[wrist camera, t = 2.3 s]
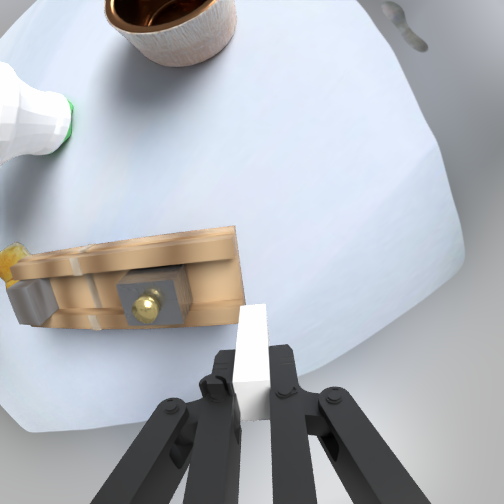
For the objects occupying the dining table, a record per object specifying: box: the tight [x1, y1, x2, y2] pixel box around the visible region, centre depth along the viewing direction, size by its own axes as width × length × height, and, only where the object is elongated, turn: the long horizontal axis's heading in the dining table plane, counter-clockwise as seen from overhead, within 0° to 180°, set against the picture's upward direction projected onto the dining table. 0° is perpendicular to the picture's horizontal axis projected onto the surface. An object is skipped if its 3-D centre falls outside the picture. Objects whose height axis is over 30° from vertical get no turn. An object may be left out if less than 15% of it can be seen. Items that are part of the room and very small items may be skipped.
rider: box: [116, 263, 193, 326], centre depth 22 cm, size 5×4×5 cm
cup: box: [0, 62, 73, 165], centre depth 19 cm, size 11×11×14 cm
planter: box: [104, 0, 237, 67], centre depth 18 cm, size 11×11×10 cm
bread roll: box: [0, 242, 30, 289], centre depth 30 cm, size 8×9×4 cm
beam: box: [6, 226, 246, 330], centre depth 26 cm, size 26×8×10 cm, turn 96°
